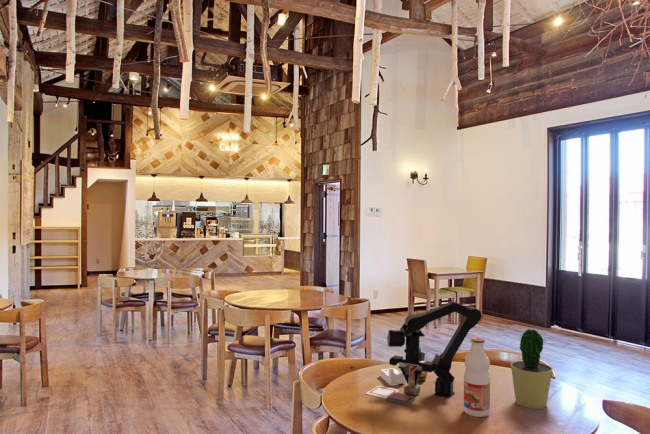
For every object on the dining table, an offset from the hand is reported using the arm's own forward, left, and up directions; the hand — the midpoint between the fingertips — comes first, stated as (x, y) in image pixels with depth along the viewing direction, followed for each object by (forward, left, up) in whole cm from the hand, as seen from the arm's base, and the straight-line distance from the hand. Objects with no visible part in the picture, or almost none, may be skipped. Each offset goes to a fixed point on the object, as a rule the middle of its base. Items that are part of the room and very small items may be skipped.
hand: (412, 384), depth 208 cm
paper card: (+11, +5, -4) cm, 13 cm away
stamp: (0, 0, -4) cm, 4 cm away
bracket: (+14, -12, -5) cm, 19 cm away
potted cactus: (-43, -18, -4) cm, 47 cm away
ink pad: (+1, +9, -4) cm, 10 cm away
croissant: (+8, -24, -5) cm, 26 cm away
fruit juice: (-28, +4, -4) cm, 29 cm away
